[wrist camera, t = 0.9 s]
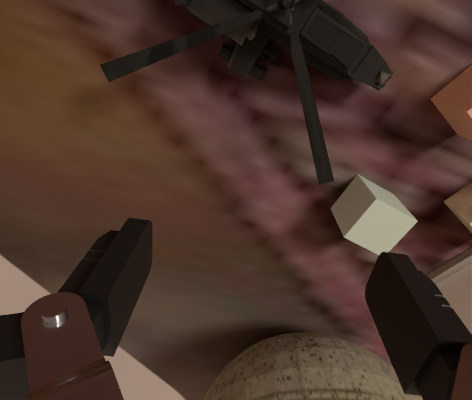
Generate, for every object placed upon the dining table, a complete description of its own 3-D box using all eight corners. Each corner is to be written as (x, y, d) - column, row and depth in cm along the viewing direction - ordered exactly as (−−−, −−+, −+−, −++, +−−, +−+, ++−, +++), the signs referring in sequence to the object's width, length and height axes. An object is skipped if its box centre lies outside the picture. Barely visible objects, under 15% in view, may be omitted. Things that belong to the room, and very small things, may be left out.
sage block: (357, 174, 35) (376, 198, 30) (393, 194, 36) (417, 221, 31) (330, 208, 37) (343, 237, 32) (364, 226, 38) (383, 257, 33)
